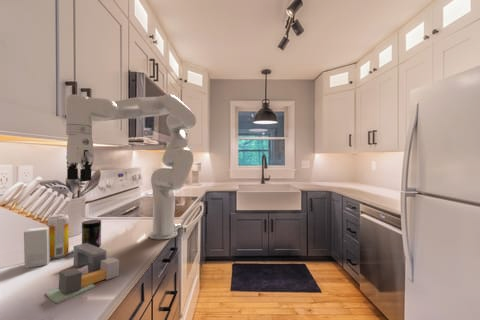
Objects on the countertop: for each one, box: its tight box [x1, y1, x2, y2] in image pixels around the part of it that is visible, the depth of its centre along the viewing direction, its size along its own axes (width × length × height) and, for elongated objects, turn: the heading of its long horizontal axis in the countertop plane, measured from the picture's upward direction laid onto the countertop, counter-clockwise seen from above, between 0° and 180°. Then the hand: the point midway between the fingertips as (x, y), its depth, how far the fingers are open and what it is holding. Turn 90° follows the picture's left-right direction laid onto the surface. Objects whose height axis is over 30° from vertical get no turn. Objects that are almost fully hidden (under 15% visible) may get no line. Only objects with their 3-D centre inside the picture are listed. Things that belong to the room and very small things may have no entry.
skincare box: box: [23, 226, 51, 269], centre depth 80 cm, size 6×4×12 cm
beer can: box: [47, 212, 70, 260], centre depth 87 cm, size 6×6×15 cm
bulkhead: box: [72, 243, 107, 274], centre depth 78 cm, size 4×13×6 cm, turn 57°
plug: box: [57, 257, 120, 294], centre depth 68 cm, size 14×4×5 cm, turn 147°
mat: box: [44, 283, 96, 304], centre depth 64 cm, size 9×7×1 cm
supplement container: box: [81, 219, 102, 248], centre depth 96 cm, size 7×7×10 cm
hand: (79, 180), depth 83 cm, fingers open, 9 cm apart
